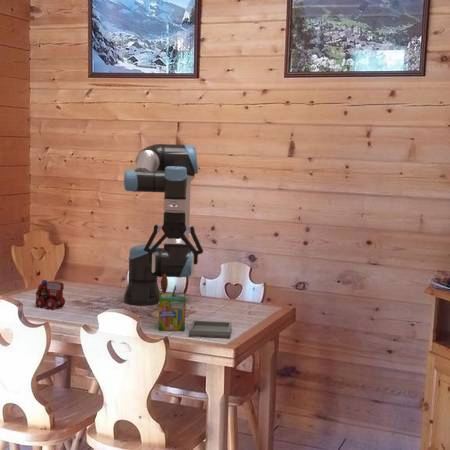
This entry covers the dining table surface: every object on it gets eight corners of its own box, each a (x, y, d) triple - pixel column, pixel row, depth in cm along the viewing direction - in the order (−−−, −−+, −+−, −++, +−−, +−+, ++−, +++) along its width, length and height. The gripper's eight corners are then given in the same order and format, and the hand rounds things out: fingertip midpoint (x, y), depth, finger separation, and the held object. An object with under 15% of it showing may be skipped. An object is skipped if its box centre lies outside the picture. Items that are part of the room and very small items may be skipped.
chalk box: (158, 324, 242) (159, 283, 241) (184, 324, 243) (185, 283, 242) (158, 330, 233) (159, 288, 232) (184, 331, 234) (186, 288, 232)
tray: (188, 336, 227) (189, 330, 227) (192, 326, 240) (193, 320, 240) (229, 338, 226) (230, 331, 226) (231, 328, 240) (231, 322, 240)
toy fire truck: (43, 303, 269) (43, 277, 268) (68, 307, 264) (68, 280, 263) (31, 306, 263) (31, 280, 262) (56, 310, 257) (56, 283, 256)
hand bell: (175, 319, 251) (176, 276, 249) (152, 319, 249) (154, 276, 248) (173, 314, 259) (175, 272, 257) (151, 314, 258) (152, 272, 256)
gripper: (136, 210, 231) (135, 273, 233) (210, 213, 230) (208, 276, 232) (140, 209, 238) (139, 269, 240) (211, 212, 237) (209, 272, 239)
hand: (173, 273), depth 236 cm, fingers open, 13 cm apart
